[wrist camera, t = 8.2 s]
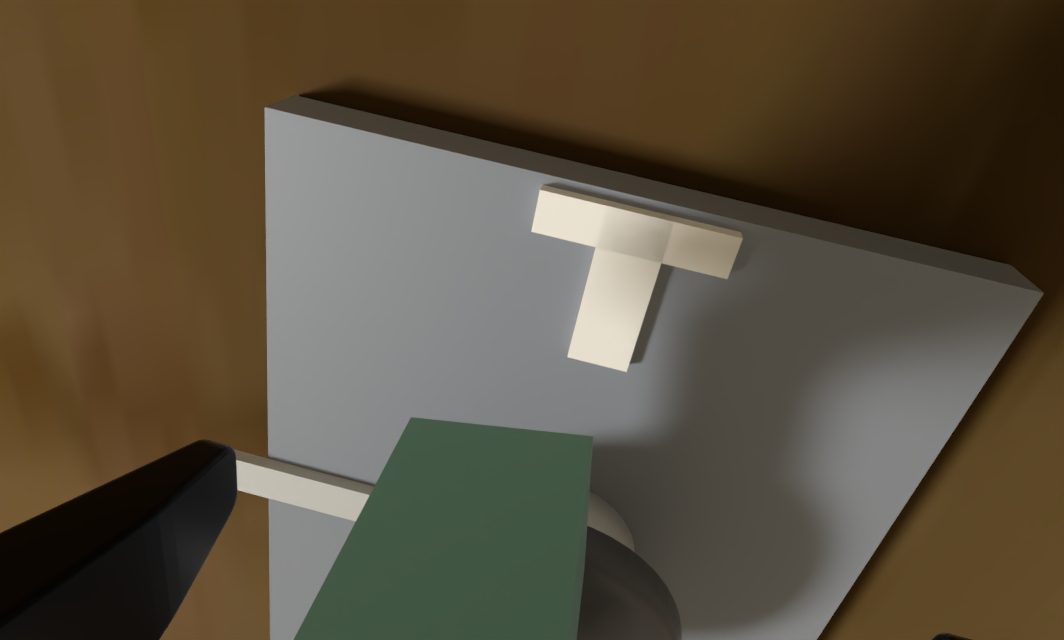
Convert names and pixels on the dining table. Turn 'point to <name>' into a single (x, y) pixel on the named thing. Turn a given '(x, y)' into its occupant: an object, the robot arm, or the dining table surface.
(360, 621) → the handle
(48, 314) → the dining table surface
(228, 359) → the dining table surface
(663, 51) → the dining table surface
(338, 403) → the base
